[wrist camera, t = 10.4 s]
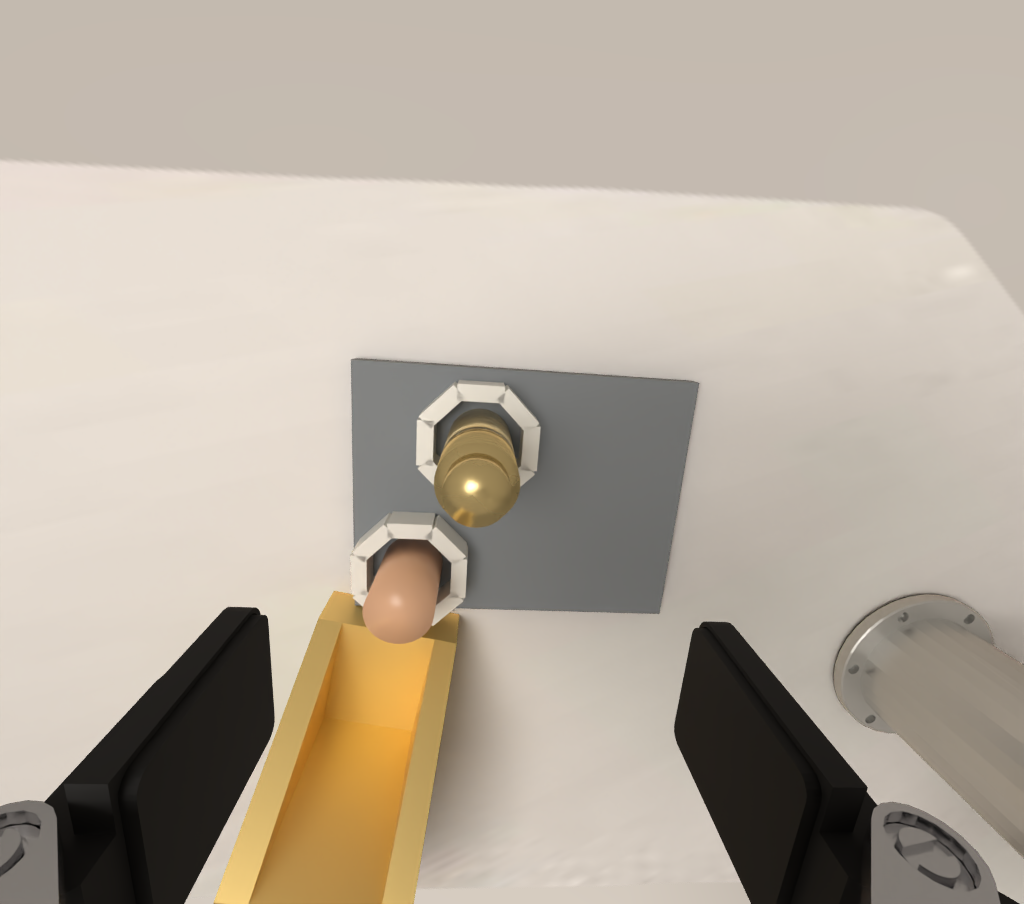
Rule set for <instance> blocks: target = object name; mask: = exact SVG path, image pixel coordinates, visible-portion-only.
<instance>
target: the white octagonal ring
mask: <svg viewBox="0 0 1024 904" xmlns="http://www.w3.org/2000/svg"><path fill="white" fill-rule="evenodd" d="M461 401H471V402H487V403H500V404H501V406H502V407H503V408H504V409H505V410H506V411H507V412H508V413H509V415H510V416H511V417H512V418H513V419H514V420H515V421H516V422H517V424H518V425H519V426H520V427H521V433H520V446H519V457H518V458H517V459H516V462H517V466H518V471H519V475H520V487H521V486H522V485H523V484H524V483H526V482H527V481H528V480H529V479H530V478H532V477H533V476H534V475H535V474H534V471H537V462H538V451H539V440H540V429H541V427H540V425H539V422H538V420H537V418H536V417H535V416H534V415H533V413H532V412H531V411H530V410H529V409H528V408H527V407H526V405H525V404H524V403H523V402H522V401H521V400H520V398H519V397H518V396H517V395H516V394H515V393H514V392H513V390H512V389H511V388H510V387H509V386H508V385H506V386H505V385H504V383H500V382H485V381H469V380H459V381H458V383H457V382H456V381H455V382H454V383H453V384H452V385H451V386H449V387H448V388H447V389H446V390H445V391H444V392H443V393H442V394H440V395H439V396H438V397H437V398H436V399H435V400H434V401H433V402H432V403H430V404H429V405H428V406H427V407H426V408H425V409H424V410H423V411H422V412H421V414H420V415H419V418H418V419H417V441H416V465H419V467H418V470H419V471H420V472H421V473H422V474H423V475H424V476H425V477H426V478H427V479H428V480H429V481H430V482H431V483H432V484H433V485H434V476H435V472H436V469H437V466H438V463H439V460H440V457H439V456H438V455H437V454H436V432H437V422H438V421H440V420H441V419H442V418H443V417H444V416H445V415H446V414H447V413H449V412H450V411H451V410H452V409H453V408H454V407H455V406H456V405H458V404H459V403H460V402H461Z"/></svg>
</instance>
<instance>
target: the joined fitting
mask: <svg viewBox="0 0 1024 904" xmlns="http://www.w3.org/2000/svg"><path fill="white" fill-rule="evenodd" d="M392 538H397V540H396V541H394V542H393V543H392V544H391V545H390V546H389V547H388V549H387V551H386V553H385V555H384V557H383V560H382V562H381V564H380V567H379V569H378V572H377V574H376V576H374V569H373V554H374V553H375V552H376V551H378V550H379V549H380V548H381V547H382V546H383V545H385V544H386V543H387V542H388V541H389V540H390V539H392ZM440 552H441V553H442V554H443V555H444V556H445V557H446V558H447V559H448V560H449V561H450V562H451V563H452V565H451V579H450V580H449V581H448V582H447V583H446V584H444V585H443V586H442V587H441V588H440V589H439V583H440V577H441V571H442V564H443V561H442V555H441V553H440ZM467 558H468V546H467V542H466V541H465V540H464V539H463V538H462V537H461V536H460V535H459V534H458V533H457V532H456V531H455V530H454V529H453V528H452V527H451V526H450V525H449V524H448V523H447V522H446V521H445V520H444V519H443V518H442V517H441V516H440V515H438V516H437V517H435V513H421V512H397V511H393V513H392V514H391V513H388V514H387V515H386V516H385V517H384V518H383V519H382V520H380V521H379V522H378V523H377V524H376V525H375V526H374V527H372V528H371V529H370V530H369V531H368V532H367V533H366V534H364V535H363V536H362V537H361V538H360V539H359V541H358V542H357V544H356V546H355V548H354V549H353V551H352V554H351V555H350V564H351V595H354V596H353V599H354V600H356V601H357V602H358V603H359V604H360V605H361V606H362V607H363V612H362V613H363V619H364V622H365V625H366V627H367V628H368V630H369V631H370V632H371V633H372V634H373V635H374V636H376V637H377V638H379V639H380V640H383V641H385V642H388V643H393V644H405V643H410V642H413V641H415V640H417V639H419V638H421V637H422V636H423V635H424V634H426V633H427V631H428V630H429V629H430V627H431V625H432V626H434V625H435V624H436V623H437V622H439V621H440V620H441V619H442V618H443V617H445V616H446V615H447V614H448V613H450V612H451V611H452V610H453V609H454V608H456V607H457V606H458V605H459V604H461V603H462V602H463V601H464V598H465V594H466V577H467Z"/></svg>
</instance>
